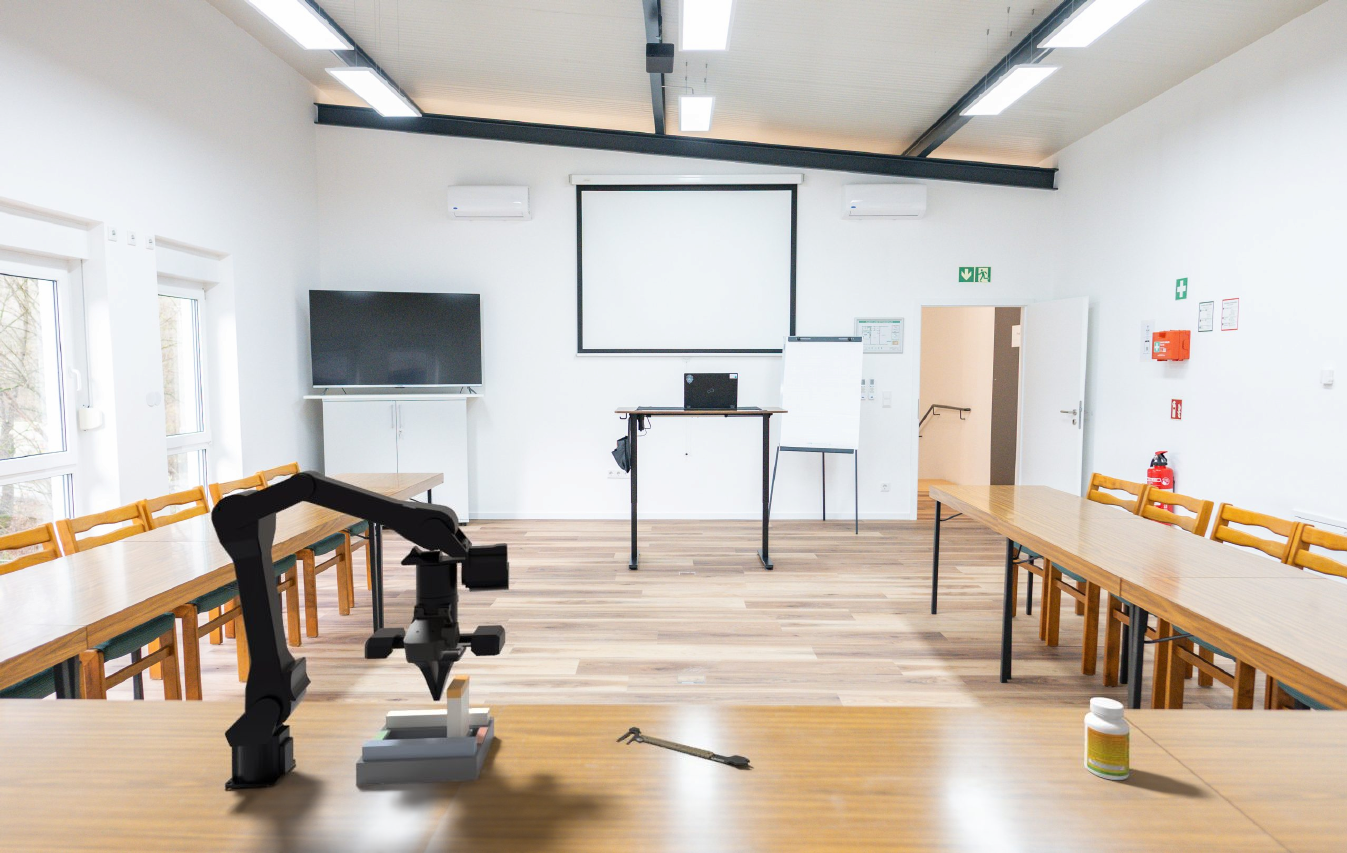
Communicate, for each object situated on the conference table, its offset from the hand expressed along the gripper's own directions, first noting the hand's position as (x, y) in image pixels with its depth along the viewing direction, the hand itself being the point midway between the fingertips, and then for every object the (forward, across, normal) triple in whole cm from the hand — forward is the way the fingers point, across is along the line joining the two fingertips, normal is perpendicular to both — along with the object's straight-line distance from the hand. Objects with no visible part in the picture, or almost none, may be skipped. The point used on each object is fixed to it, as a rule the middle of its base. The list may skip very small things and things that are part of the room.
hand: (437, 699), depth 99 cm
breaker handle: (+7, +3, 0) cm, 7 cm away
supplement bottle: (+9, +95, -11) cm, 96 cm away
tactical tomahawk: (+9, +35, -1) cm, 37 cm away
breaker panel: (+9, -1, 0) cm, 9 cm away
